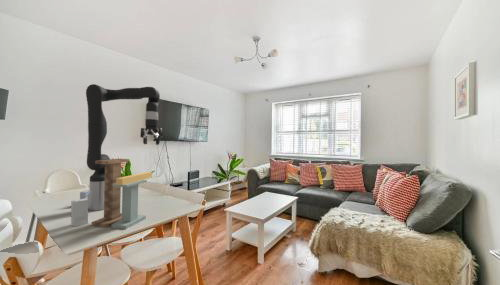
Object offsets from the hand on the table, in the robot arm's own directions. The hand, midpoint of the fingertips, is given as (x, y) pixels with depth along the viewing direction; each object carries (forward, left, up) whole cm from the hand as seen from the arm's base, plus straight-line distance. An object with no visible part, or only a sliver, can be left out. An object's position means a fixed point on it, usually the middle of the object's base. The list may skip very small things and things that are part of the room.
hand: (151, 144), depth 131 cm
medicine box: (-42, -4, -40) cm, 58 cm away
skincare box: (-16, -32, -40) cm, 54 cm away
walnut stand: (-4, -25, -40) cm, 47 cm away
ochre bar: (+6, -21, -19) cm, 29 cm away
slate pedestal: (+6, -25, -40) cm, 48 cm away
